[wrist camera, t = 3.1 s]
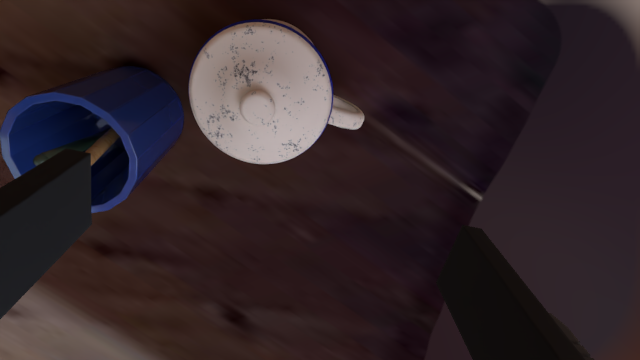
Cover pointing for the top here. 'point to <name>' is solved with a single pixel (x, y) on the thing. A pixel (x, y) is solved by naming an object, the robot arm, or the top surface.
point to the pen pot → (98, 127)
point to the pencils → (84, 146)
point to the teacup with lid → (265, 92)
